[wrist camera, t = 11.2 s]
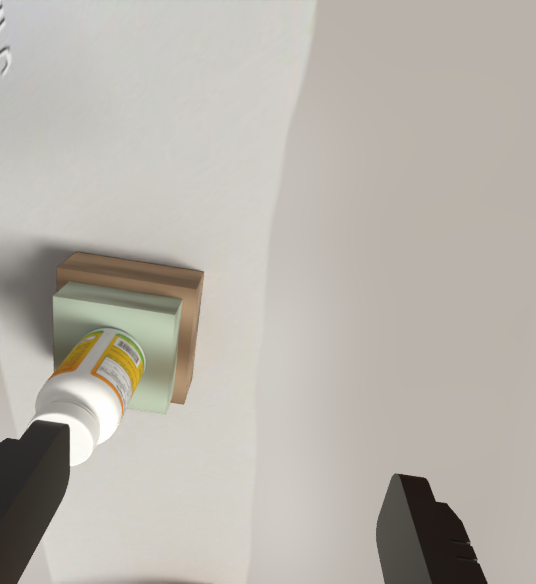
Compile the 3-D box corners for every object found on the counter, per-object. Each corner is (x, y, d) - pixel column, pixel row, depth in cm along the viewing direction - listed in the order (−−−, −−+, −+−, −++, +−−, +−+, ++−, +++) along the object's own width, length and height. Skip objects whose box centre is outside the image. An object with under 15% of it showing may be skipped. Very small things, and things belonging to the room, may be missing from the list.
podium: (76, 251, 42) (38, 281, 35) (204, 272, 42) (189, 304, 36) (75, 362, 46) (41, 406, 39) (191, 379, 46) (176, 426, 40)
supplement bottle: (75, 380, 38) (12, 469, 29) (78, 320, 36) (11, 395, 27) (143, 392, 39) (101, 484, 30) (150, 333, 37) (107, 412, 28)
